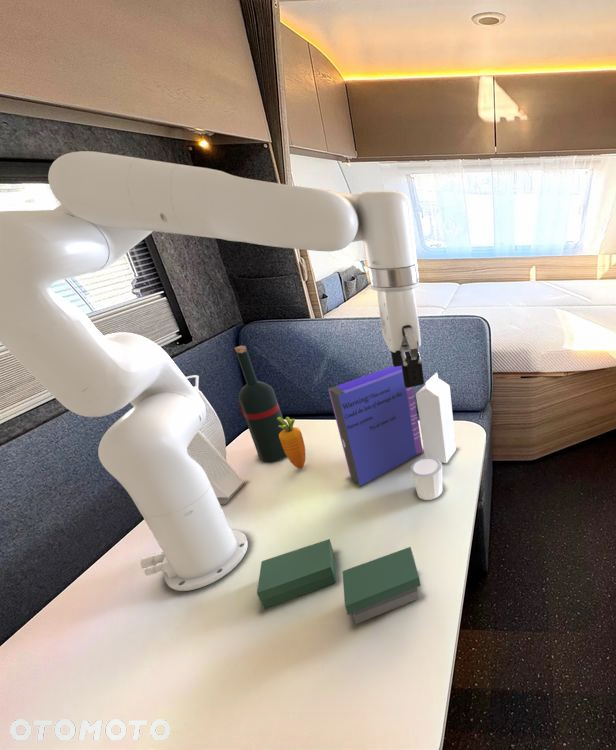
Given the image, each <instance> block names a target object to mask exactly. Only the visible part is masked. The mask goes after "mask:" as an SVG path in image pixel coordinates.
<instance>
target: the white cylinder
mask: <svg viewBox="0 0 616 750" xmlns="http://www.w3.org/2000/svg"><path fill="white" fill-rule="evenodd" d="M409 470H410V473H411V474H410V475H411V477H412V481H413V483H414V487H415V490H416V494H417V496H418V498H420V499H421V500H424V501H430V500H431V501H432V500H435V499H436V498H438V497H439V496H441V494H442V493H443V463H442V462H441V461H440V460H439V459H437V458H434V457H425V456H424V457H421V458H419V459H416V460H415V461H414V462H413V463H412V464H411V466H410V468H409Z"/></svg>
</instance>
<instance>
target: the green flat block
mask: <svg viewBox="0 0 616 750" xmlns="http://www.w3.org/2000/svg"><path fill="white" fill-rule="evenodd" d="M342 585H343V597H344V608H345V610H346V614H347V615H348V616H349V615H351V614H353V613H354V612H356V611H359V610H361V609H364V608H366V607H369V606H371V605H374V604H376V603H379V602H381V601H384V600H386V599H389V598H391V597H394V596H396V595H399V594H401V593H404V592H406V591H409V590H411V589H414V588H416V587H417V588H419V587H421V581H420V576H419V572H418V568H417V564H416V560H415V558H414V554H413V550H412V547H411V546H408V547H406V548H403V549H400V550H398V551H394V552H391V553H389V554H386V555H383V556H381V557H378V558H376V559H372V560H369V561H367V562H364V563H361V564H358V565H355V566H352V567H350V568H347V569H345V570H342Z"/></svg>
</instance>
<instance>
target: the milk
mask: <svg viewBox="0 0 616 750" xmlns="http://www.w3.org/2000/svg"><path fill="white" fill-rule="evenodd" d="M438 374H439V373H438V372H435V373H434V374H433V375H432V376H431V377H430V378H428V379H427V380H426V381H425V382H424V385H423V387H421V388H420V389H419V390H418V391H417V392H416V393H415V400H416V407H417V414H418V421H419V428H420V434H421V441H422V448H423V453H424V457H434V458H437V459H439V460H440V461H441V463H442V464H447V463H448V462H449V461H450V459H451V458H452V456H453V455H454V454H455V452H456V450H457V444H456V435H455V425H454V416H453V415H454V414H453V406H452V397H451V396H452V395H451V387H450V384H448V383H447V382H446V381H444V380H443V379H441V378H439V375H438Z"/></svg>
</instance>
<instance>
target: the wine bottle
mask: <svg viewBox="0 0 616 750" xmlns="http://www.w3.org/2000/svg"><path fill="white" fill-rule="evenodd" d="M234 350H235V352H236V353H235V354H236V357H237V360H238V362H239V365H240V368H241V370H242V374H243V377H244V381H245V382H246V384H245V385H243V386H242V387H241V389H240V391H239V393H238V398H237V400H238V402H239V403H238V407H239V410H240V413H241V415H242V416H243V417H244V419H245V422H246V426H247V427H248V431H249V433H250V436H251V439H252V442H253V444H254V448H255V450H256V453H257V455H258V458H259V460H260V461H261V462H263V463H274V462H275V463H276V462H278V461H281V460H283V459H285V458H288V457H287V456H286V454H285V452H284V449H283V447H282V444H281V441H280V438H279V433H280V432H281V431H283V430H284V429H282V428H280V427H278V426H279V425H283V424H282V423H281V422H280V421H278V420H277V418H278V417H281V418H282V419H283V420H284V416H283V413H282V411H281V408H280V405H279V402H278V399H277V395H276V393H275V390H274V388H273V386H271V385H270V384H268V383H267V382H265V381H259V380H258V378H257V376H256V373H255V370H254V367H253V363H252V361H251V357H250V355H249V351H248V350H247V345H239V346H236V347H234Z"/></svg>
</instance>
